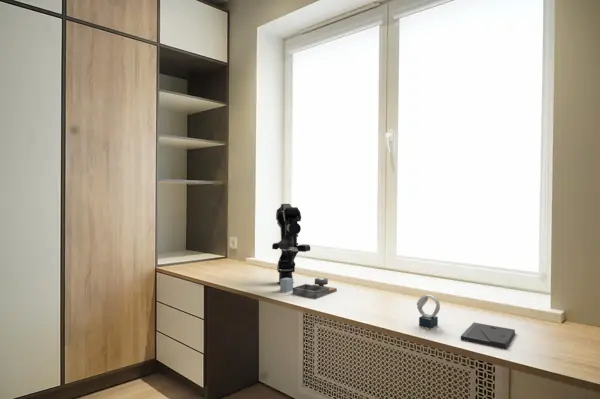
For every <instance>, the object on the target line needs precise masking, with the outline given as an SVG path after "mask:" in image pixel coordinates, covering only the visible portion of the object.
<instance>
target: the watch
mask: <svg viewBox="0 0 600 399" xmlns="http://www.w3.org/2000/svg"><path fill="white" fill-rule="evenodd" d="M429 298H430V299H431V300H433V302H434V303H435V309H434V311H433V312H432V314H428V313H425V311H424V310H423V307H424V306H425V304H427V302H428V300H429ZM416 306H417V307H416V308H417V311H418V312H419V314H420V315H421V316H419V317H418V326H419V327H422V328H426V329H433V328H435V327H437V326H438V323H439V321H438V319H439V317H438V316H437V314H438V313H439V312H440V310H441V304H440V301H439V299H438V298H437V297H436V296H435V295H432V294H423V295H422V296H421V297H420V298H419V299H418V300H417V302H416Z"/></svg>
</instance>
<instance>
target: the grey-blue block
mask: <svg viewBox="0 0 600 399" xmlns="http://www.w3.org/2000/svg"><path fill="white" fill-rule="evenodd" d="M293 282H294V278H293V277H292V278H283V279H280V289H279V292H282V293H285V294H286V293H287V294H288V293H289V292H293V288H294V283H293Z"/></svg>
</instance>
